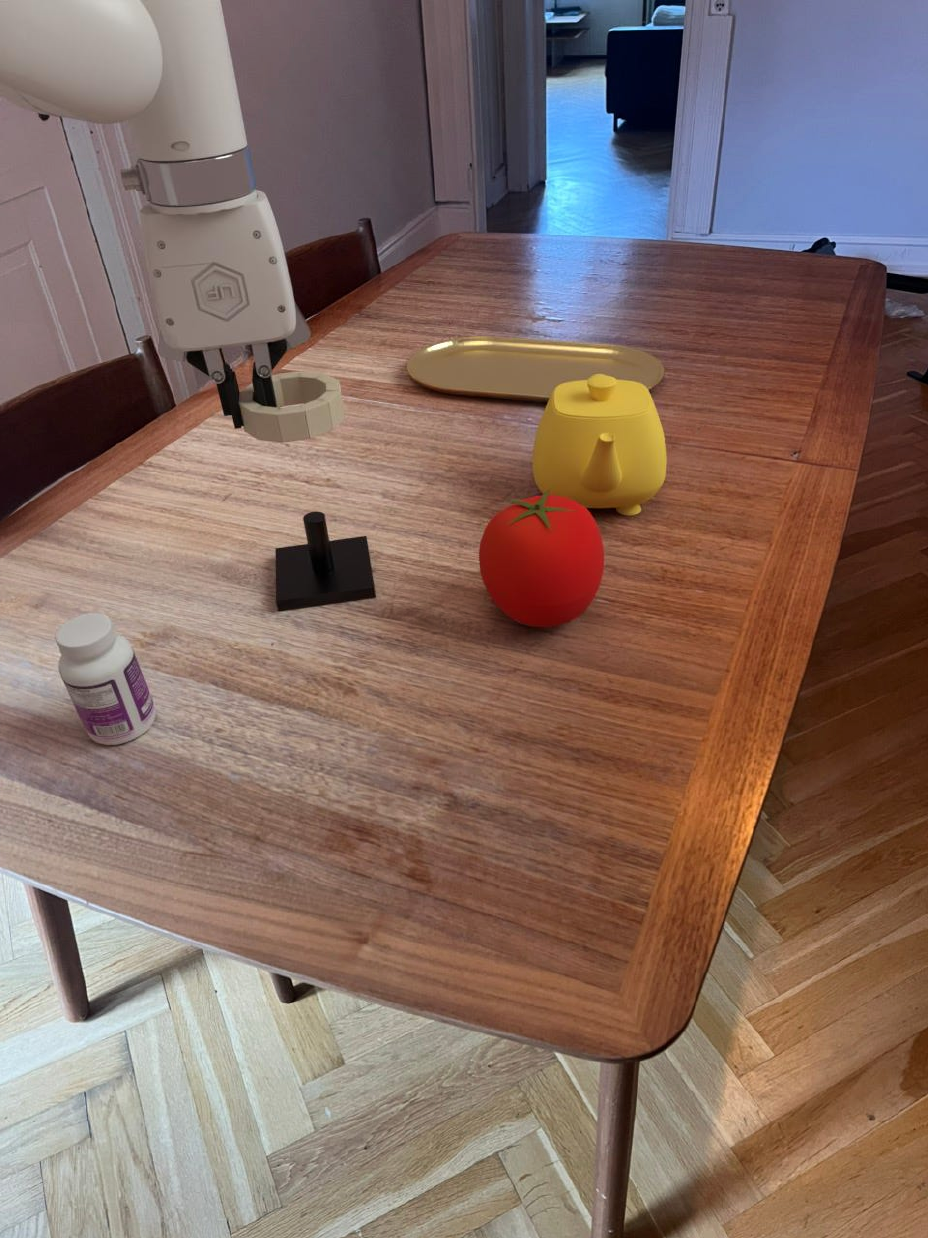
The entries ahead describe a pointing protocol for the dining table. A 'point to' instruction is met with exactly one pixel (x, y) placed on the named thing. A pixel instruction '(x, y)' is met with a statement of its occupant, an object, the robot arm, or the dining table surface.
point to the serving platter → (525, 366)
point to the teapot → (600, 444)
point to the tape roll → (294, 408)
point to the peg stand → (322, 569)
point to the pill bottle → (104, 680)
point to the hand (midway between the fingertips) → (252, 418)
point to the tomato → (542, 560)
